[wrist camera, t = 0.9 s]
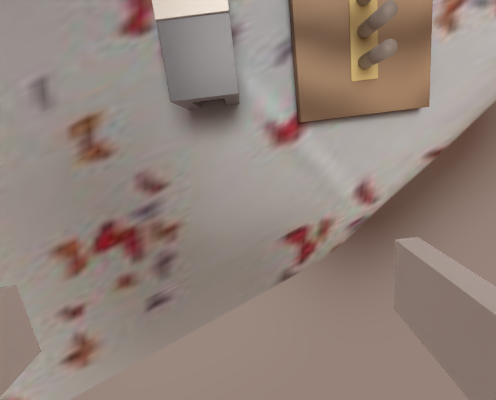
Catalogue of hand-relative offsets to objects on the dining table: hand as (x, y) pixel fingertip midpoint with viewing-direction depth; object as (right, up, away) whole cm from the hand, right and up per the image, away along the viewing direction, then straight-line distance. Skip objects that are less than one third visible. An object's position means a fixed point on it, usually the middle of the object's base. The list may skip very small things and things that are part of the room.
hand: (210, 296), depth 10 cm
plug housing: (-3, +17, +16) cm, 24 cm away
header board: (+11, +18, +16) cm, 27 cm away
